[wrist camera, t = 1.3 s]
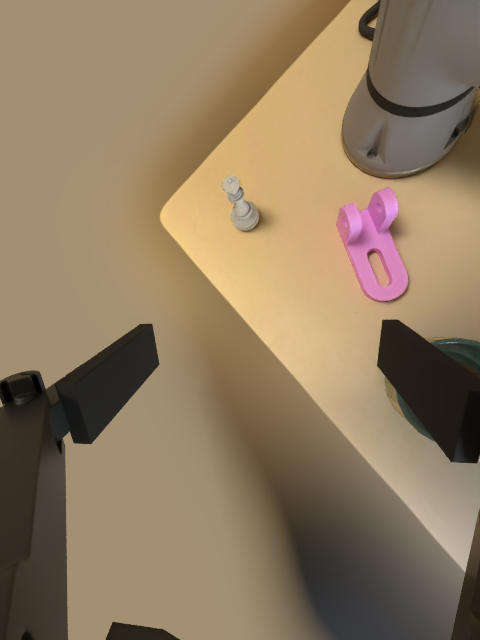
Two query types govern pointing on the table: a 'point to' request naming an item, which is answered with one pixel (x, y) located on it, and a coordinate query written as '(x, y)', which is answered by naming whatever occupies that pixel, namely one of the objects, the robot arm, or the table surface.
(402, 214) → the table surface
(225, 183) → the chess piece
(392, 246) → the bracket
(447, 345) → the bowl
